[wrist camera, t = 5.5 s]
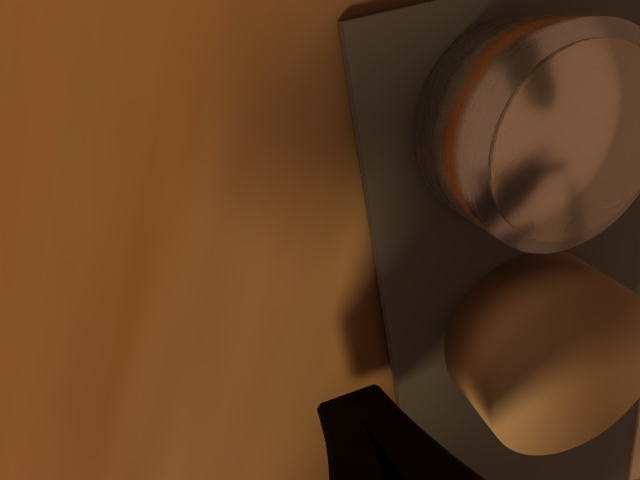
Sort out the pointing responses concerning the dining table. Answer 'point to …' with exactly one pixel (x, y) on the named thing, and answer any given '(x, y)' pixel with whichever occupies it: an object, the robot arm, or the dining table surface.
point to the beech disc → (546, 351)
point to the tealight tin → (535, 127)
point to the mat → (457, 236)
